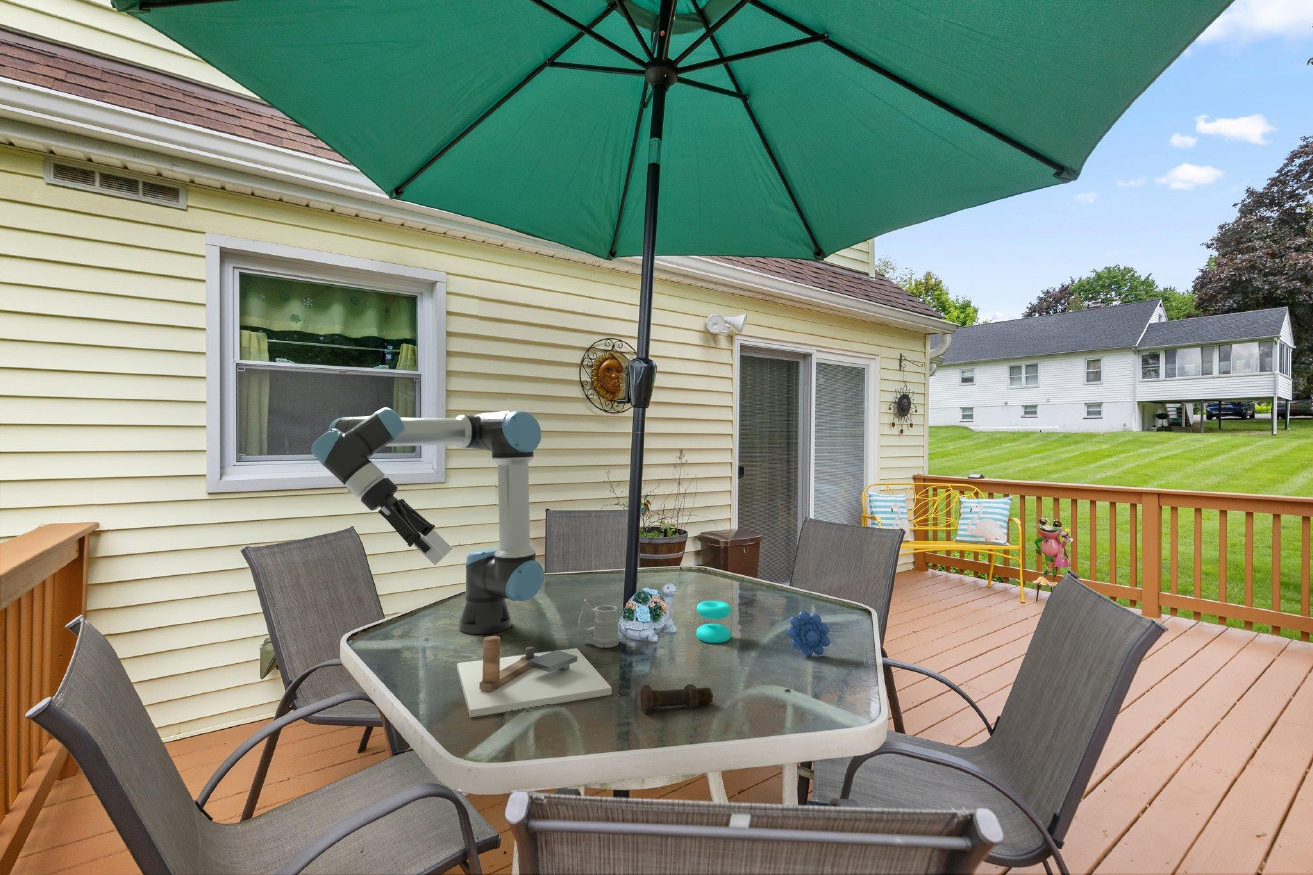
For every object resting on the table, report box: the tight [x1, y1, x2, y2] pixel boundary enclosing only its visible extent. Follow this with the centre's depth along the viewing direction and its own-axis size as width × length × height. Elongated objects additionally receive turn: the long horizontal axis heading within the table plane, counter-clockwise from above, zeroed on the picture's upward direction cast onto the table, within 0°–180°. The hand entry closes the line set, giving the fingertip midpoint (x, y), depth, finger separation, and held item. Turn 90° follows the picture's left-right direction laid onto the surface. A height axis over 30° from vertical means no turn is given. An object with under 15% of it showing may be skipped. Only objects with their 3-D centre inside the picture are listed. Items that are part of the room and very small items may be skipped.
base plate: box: [456, 647, 613, 718], centre depth 138 cm, size 28×30×2 cm
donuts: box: [695, 600, 732, 644], centre depth 171 cm, size 10×10×10 cm
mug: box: [577, 599, 621, 649], centre depth 166 cm, size 8×12×12 cm, turn 86°
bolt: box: [639, 683, 714, 715], centre depth 125 cm, size 6×5×15 cm
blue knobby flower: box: [786, 610, 831, 657], centre depth 156 cm, size 12×7×12 cm, turn 95°
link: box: [479, 635, 539, 692], centre depth 137 cm, size 19×4×10 cm, turn 158°
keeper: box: [528, 649, 577, 672], centre depth 139 cm, size 9×7×5 cm
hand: (444, 556), depth 137 cm, fingers open, 10 cm apart
